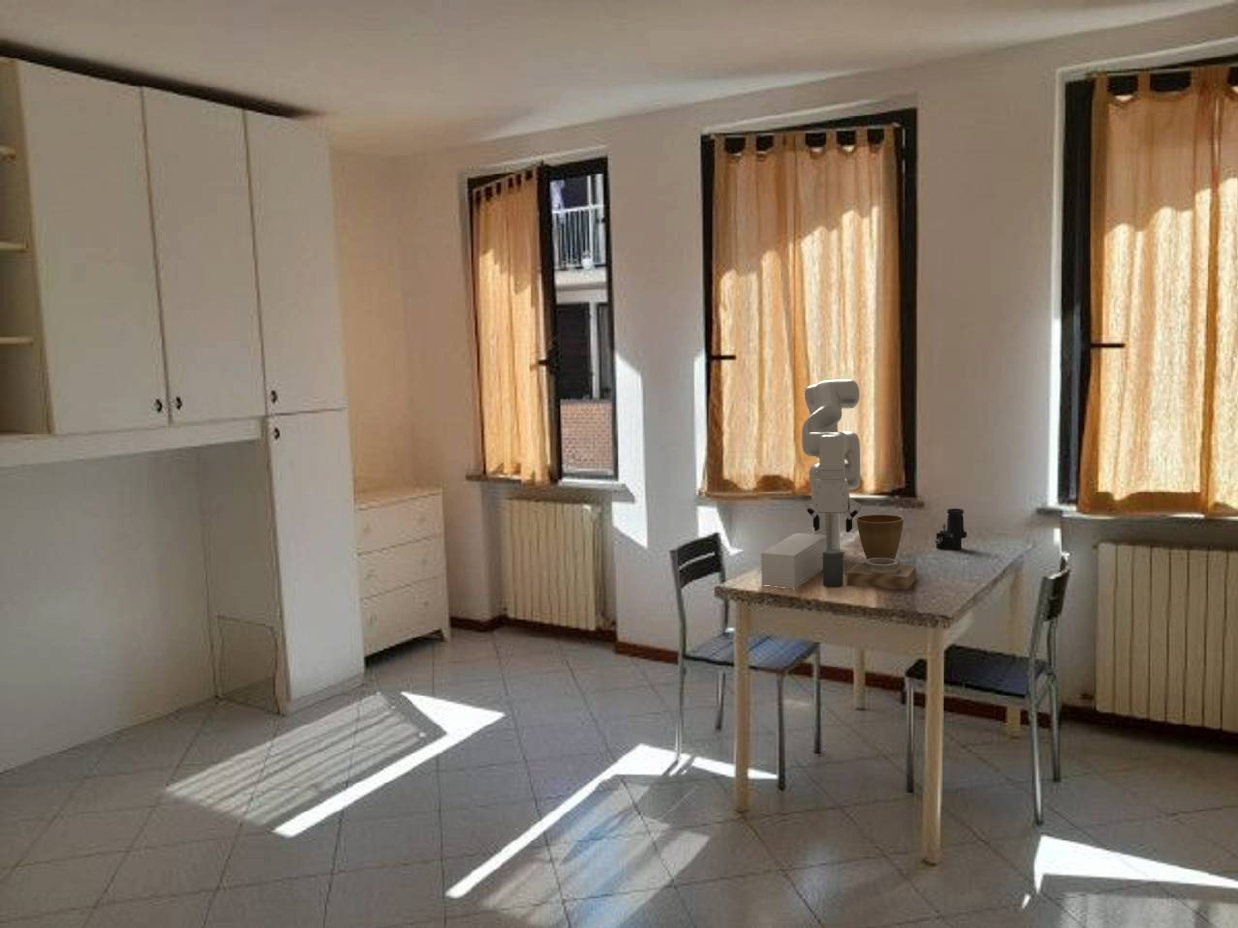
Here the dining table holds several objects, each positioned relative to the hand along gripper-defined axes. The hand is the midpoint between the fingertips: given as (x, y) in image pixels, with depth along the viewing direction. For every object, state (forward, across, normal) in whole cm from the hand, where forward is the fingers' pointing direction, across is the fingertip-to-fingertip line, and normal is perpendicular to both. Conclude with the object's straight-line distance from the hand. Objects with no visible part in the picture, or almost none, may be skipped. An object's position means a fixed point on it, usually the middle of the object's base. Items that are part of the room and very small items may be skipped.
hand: (832, 530), depth 295 cm
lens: (+17, 0, +1) cm, 17 cm away
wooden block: (+17, +13, +9) cm, 23 cm away
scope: (+16, +26, +63) cm, 70 cm away
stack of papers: (+17, -14, +8) cm, 24 cm away
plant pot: (+17, +8, +30) cm, 35 cm away
